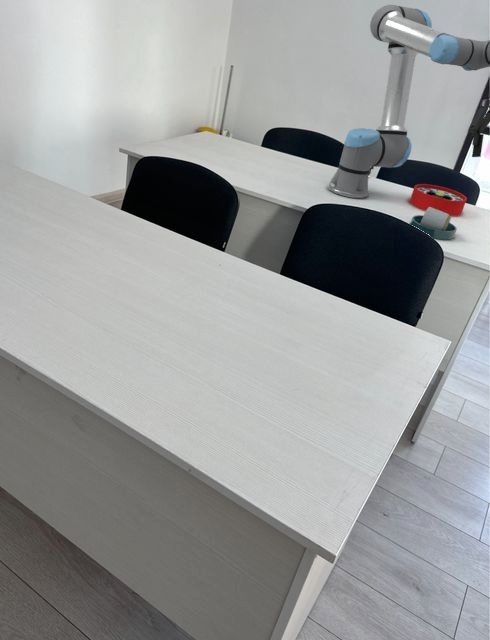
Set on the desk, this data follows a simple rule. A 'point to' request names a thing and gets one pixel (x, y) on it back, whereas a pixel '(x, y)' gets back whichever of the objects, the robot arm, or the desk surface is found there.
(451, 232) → the bowl
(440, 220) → the grey cylinder
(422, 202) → the toy clock
